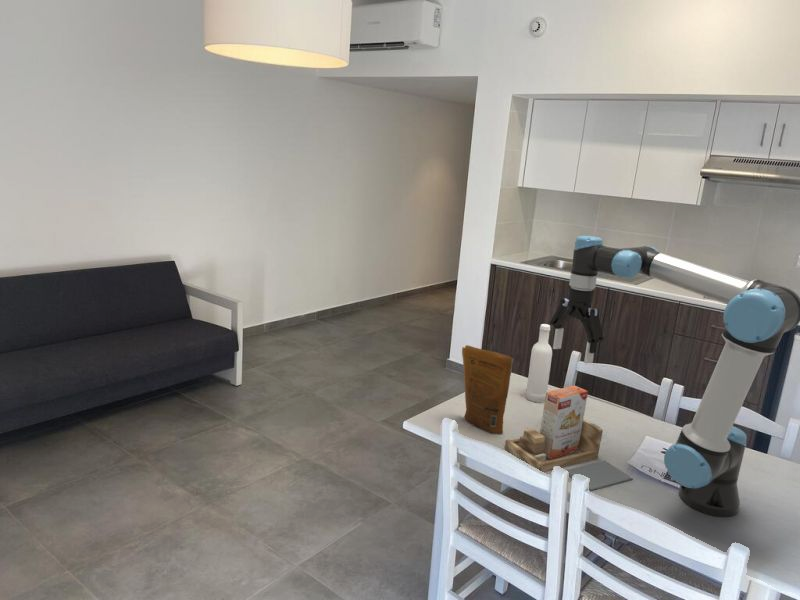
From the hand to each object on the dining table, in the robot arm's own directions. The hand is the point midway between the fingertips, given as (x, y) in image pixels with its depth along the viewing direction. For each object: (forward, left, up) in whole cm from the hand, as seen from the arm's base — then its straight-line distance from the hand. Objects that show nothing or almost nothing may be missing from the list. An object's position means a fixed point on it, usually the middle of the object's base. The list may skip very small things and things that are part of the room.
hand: (572, 355), depth 183 cm
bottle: (+37, -22, -33) cm, 54 cm away
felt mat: (-16, -1, -32) cm, 36 cm away
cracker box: (0, 0, -33) cm, 33 cm away
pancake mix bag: (+24, +13, -33) cm, 43 cm away
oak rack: (0, +3, -32) cm, 33 cm away
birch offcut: (0, +11, -33) cm, 35 cm away
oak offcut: (0, +11, -27) cm, 29 cm away
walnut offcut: (0, +11, -30) cm, 32 cm away
